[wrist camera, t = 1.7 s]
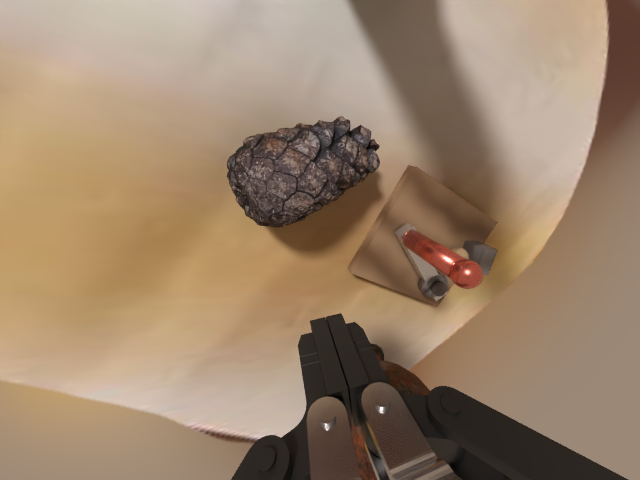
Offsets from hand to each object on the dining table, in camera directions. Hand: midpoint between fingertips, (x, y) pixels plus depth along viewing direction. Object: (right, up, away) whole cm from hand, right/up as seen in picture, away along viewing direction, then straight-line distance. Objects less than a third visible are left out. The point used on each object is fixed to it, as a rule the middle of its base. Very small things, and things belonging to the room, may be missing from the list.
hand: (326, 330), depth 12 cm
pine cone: (-3, +15, +21) cm, 26 cm away
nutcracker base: (+17, +4, +31) cm, 36 cm away
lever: (+16, +1, +29) cm, 33 cm away
